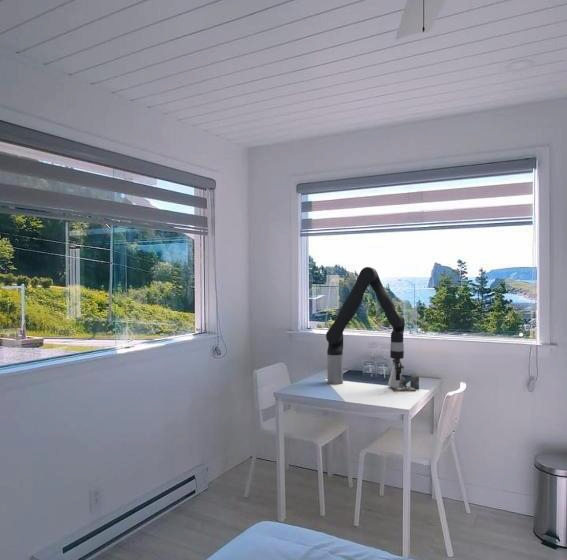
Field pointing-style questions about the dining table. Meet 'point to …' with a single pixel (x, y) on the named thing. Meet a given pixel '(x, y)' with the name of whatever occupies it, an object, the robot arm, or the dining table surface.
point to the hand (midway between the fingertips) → (396, 379)
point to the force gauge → (392, 379)
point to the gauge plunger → (404, 382)
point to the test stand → (413, 383)
